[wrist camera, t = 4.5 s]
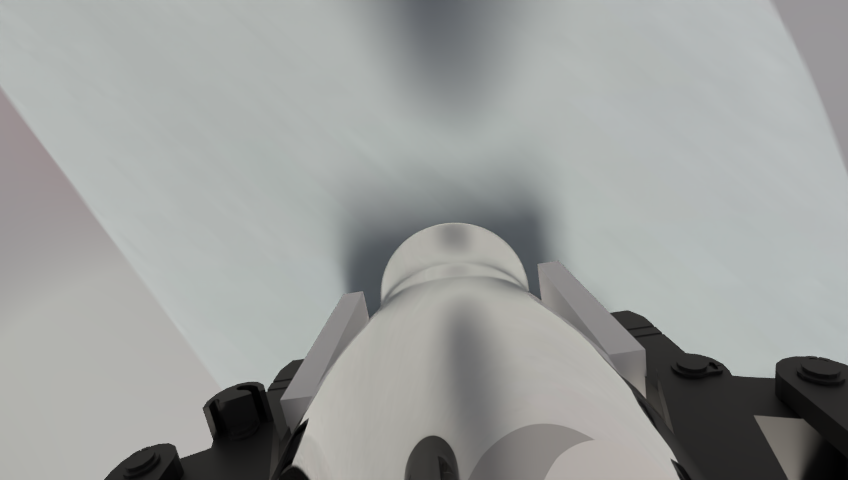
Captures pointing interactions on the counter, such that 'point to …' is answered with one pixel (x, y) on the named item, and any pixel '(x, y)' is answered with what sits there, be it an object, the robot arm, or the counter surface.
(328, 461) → the beer glass
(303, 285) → the counter surface
